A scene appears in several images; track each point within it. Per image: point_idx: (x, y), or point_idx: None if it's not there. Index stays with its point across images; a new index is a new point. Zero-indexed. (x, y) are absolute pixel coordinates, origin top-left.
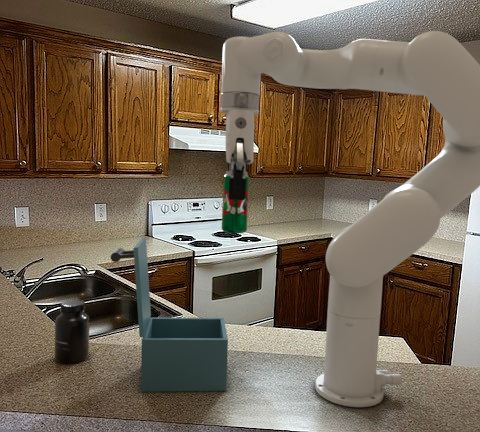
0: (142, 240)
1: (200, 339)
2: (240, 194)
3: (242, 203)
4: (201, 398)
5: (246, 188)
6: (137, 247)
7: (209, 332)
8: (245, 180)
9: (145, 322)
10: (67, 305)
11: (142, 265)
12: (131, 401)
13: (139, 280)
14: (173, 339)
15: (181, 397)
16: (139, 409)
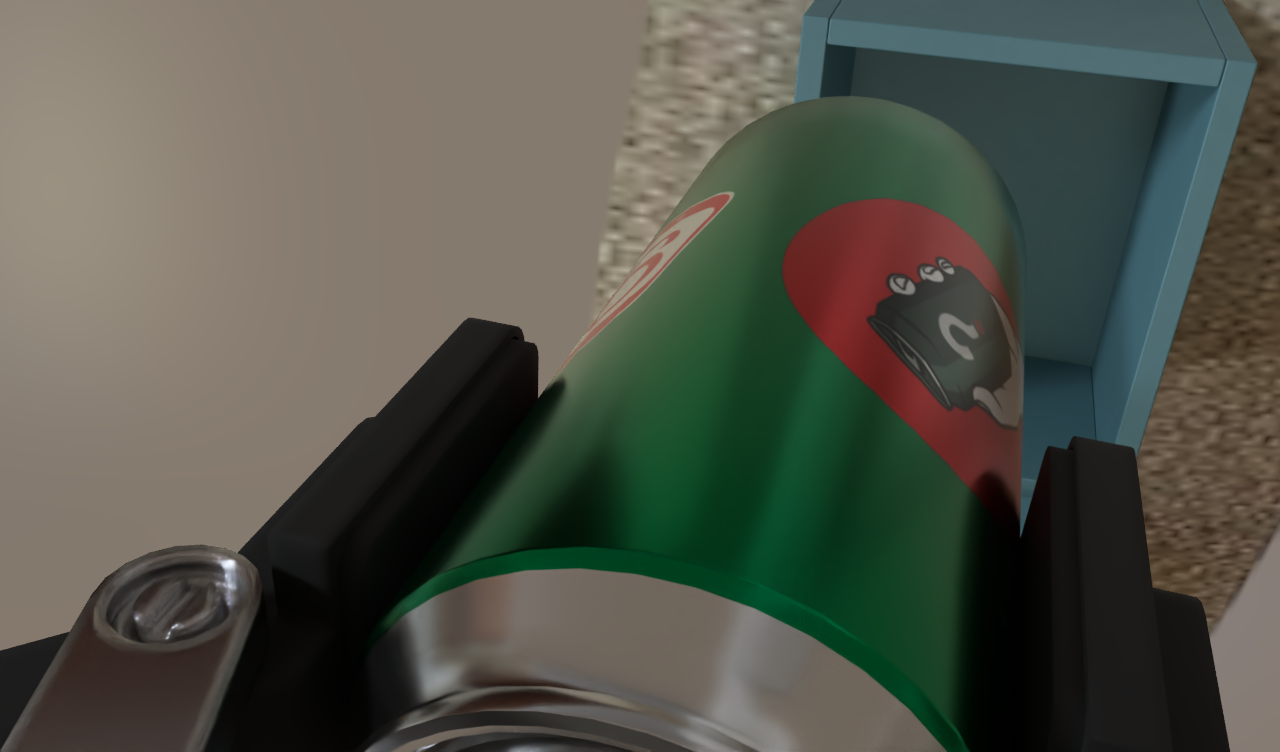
0: None
1: (1203, 231)
2: (1195, 606)
3: (1013, 405)
4: (1257, 126)
5: (943, 501)
6: None
7: (831, 88)
8: (1169, 743)
9: (1022, 526)
10: None
11: None
12: (1186, 415)
13: None
14: (1160, 373)
15: (1215, 216)
16: (1271, 392)
